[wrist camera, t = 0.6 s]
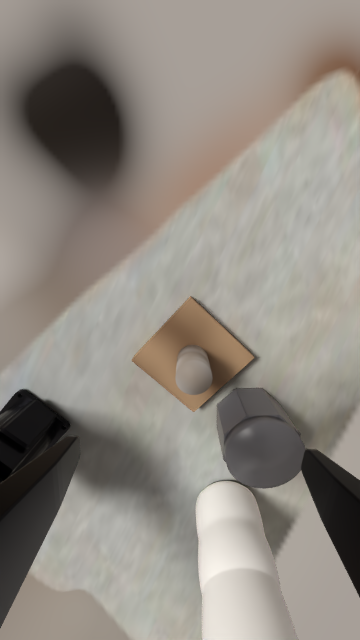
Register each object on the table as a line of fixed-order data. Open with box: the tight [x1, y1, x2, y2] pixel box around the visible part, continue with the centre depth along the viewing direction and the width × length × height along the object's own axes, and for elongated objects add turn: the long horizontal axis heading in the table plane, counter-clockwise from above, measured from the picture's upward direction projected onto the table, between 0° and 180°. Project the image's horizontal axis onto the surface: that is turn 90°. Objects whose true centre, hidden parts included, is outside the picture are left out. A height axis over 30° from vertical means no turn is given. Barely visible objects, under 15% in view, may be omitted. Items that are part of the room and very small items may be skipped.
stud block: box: [132, 296, 254, 412], centre depth 18 cm, size 8×8×5 cm
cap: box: [217, 388, 305, 488], centre depth 19 cm, size 6×6×5 cm
